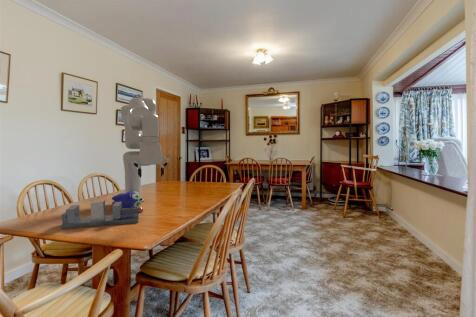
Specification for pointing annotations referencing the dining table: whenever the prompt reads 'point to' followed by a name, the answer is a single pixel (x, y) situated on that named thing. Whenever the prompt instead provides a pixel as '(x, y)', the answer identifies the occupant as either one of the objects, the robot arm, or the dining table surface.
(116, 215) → the sliding jaw
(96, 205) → the steel block
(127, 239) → the dining table surface
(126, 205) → the toy
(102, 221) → the vise
